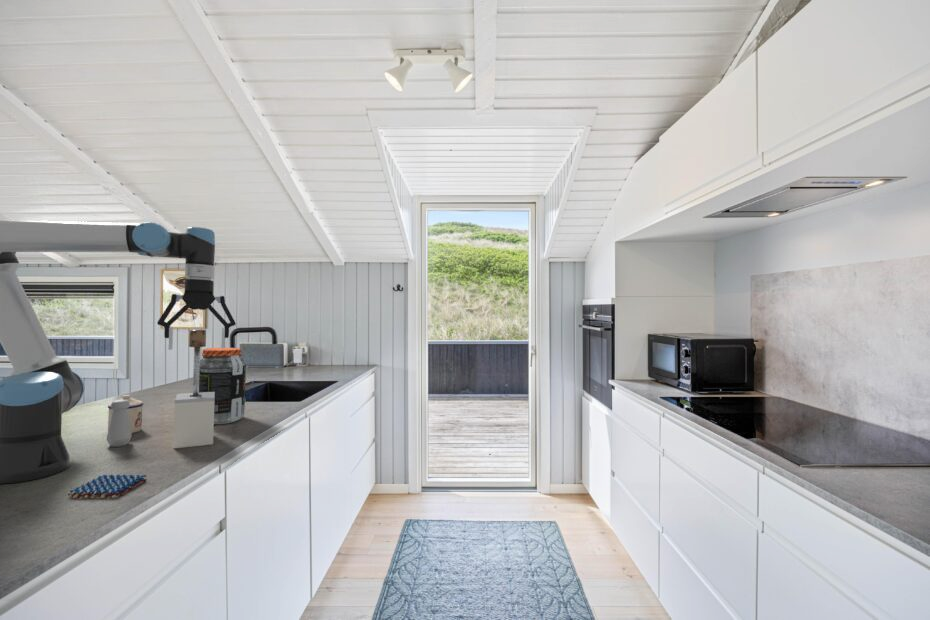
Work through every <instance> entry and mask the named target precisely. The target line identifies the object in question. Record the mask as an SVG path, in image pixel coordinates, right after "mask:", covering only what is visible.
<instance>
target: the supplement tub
mask: <svg viewBox="0 0 930 620" xmlns="http://www.w3.org/2000/svg"><path fill="white" fill-rule="evenodd" d="M201 355H202V358H200V375H199V393H200V392H215V401H214V425H223V424H224V425H225V424H231V423H234V422H236V421H237V422H238V421H240V420H241V419H243V418H244V417H245V416H244V415H245V407H246V405H245V404H246V402H245V401H246V376H247V375H246V374H247V373H246V371H247V365H246V364H247V363H246V361H245V360H244V358H243V355H242V348H239V347H224V349H221V347H212V348H211V347H209V348H203V349H202V352H201Z"/></svg>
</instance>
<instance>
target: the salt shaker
mask: <svg viewBox="0 0 930 620" xmlns="http://www.w3.org/2000/svg"><path fill="white" fill-rule="evenodd" d="M110 403H111V409H113V414H112V418H111V422H110V426H109V430H108V429H107V435H106V442H107V444H108V445H109V447H113V448H114V447H115V448H116V447H117V448H119V447H124V446H127V445H129V442H130V440H131V439H132V433H131V429H130V424H129V419H128V413H127V408H129V401H128V400H119V399H118V400H113V401H112V402H110ZM126 444H127V445H126Z"/></svg>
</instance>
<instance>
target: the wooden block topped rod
mask: <svg viewBox="0 0 930 620" xmlns="http://www.w3.org/2000/svg"><path fill="white" fill-rule="evenodd" d="M188 335H189V336H188V347H189V348H193V374H192V375H193V376H192V380H193V381H192V393H193V397H197V396H199V375H200V360H201V348H205V347H207V345H206V344H207V329H189V333H188Z"/></svg>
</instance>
